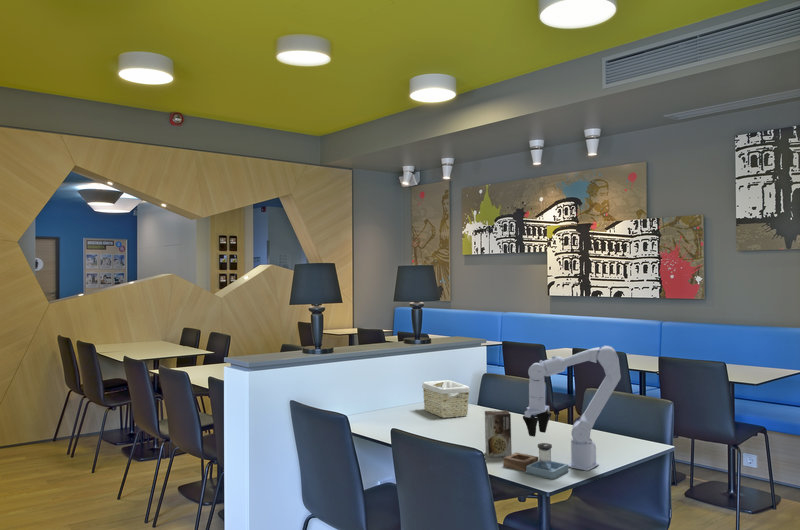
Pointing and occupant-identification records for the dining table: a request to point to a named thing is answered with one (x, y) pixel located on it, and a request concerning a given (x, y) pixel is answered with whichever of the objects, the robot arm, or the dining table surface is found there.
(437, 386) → the storage basket
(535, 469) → the slate-blue tray
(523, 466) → the wooden square frame
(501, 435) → the coffee box
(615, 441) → the dining table surface
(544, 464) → the glass jar
